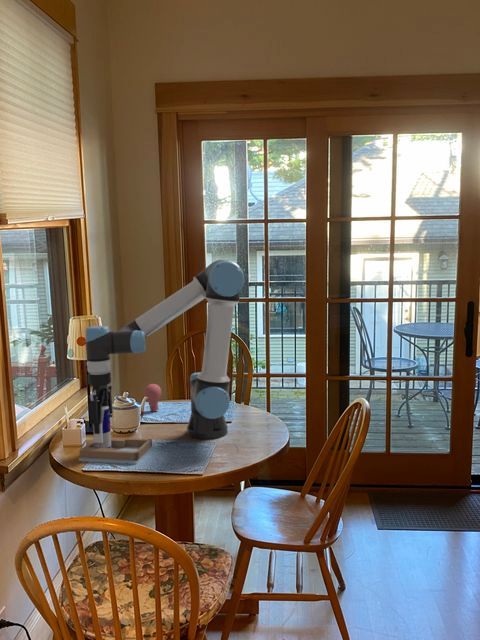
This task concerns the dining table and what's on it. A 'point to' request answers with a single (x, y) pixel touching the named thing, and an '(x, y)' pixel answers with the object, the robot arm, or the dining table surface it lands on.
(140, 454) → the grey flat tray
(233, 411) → the dining table surface
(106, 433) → the beverage can
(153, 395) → the light bulb
